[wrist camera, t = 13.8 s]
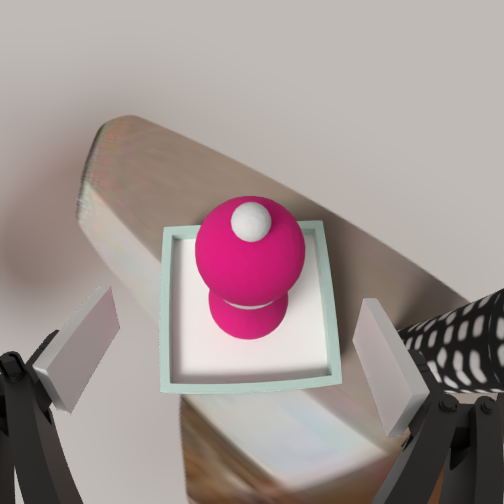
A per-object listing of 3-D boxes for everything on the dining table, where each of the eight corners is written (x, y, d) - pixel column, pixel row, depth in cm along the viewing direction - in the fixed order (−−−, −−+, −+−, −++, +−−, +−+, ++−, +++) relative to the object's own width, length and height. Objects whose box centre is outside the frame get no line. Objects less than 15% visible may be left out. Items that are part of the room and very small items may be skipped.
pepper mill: (258, 265, 33) (274, 129, 14) (295, 320, 30) (368, 239, 12) (201, 298, 31) (142, 190, 13) (236, 356, 29) (219, 333, 10)
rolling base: (312, 241, 39) (322, 220, 33) (327, 381, 32) (342, 383, 27) (175, 247, 38) (164, 227, 33) (174, 388, 32) (160, 392, 26)
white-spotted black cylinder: (418, 396, 31) (533, 398, 12) (368, 380, 32) (477, 380, 13) (436, 339, 34) (545, 303, 15) (388, 320, 35) (494, 269, 16)
